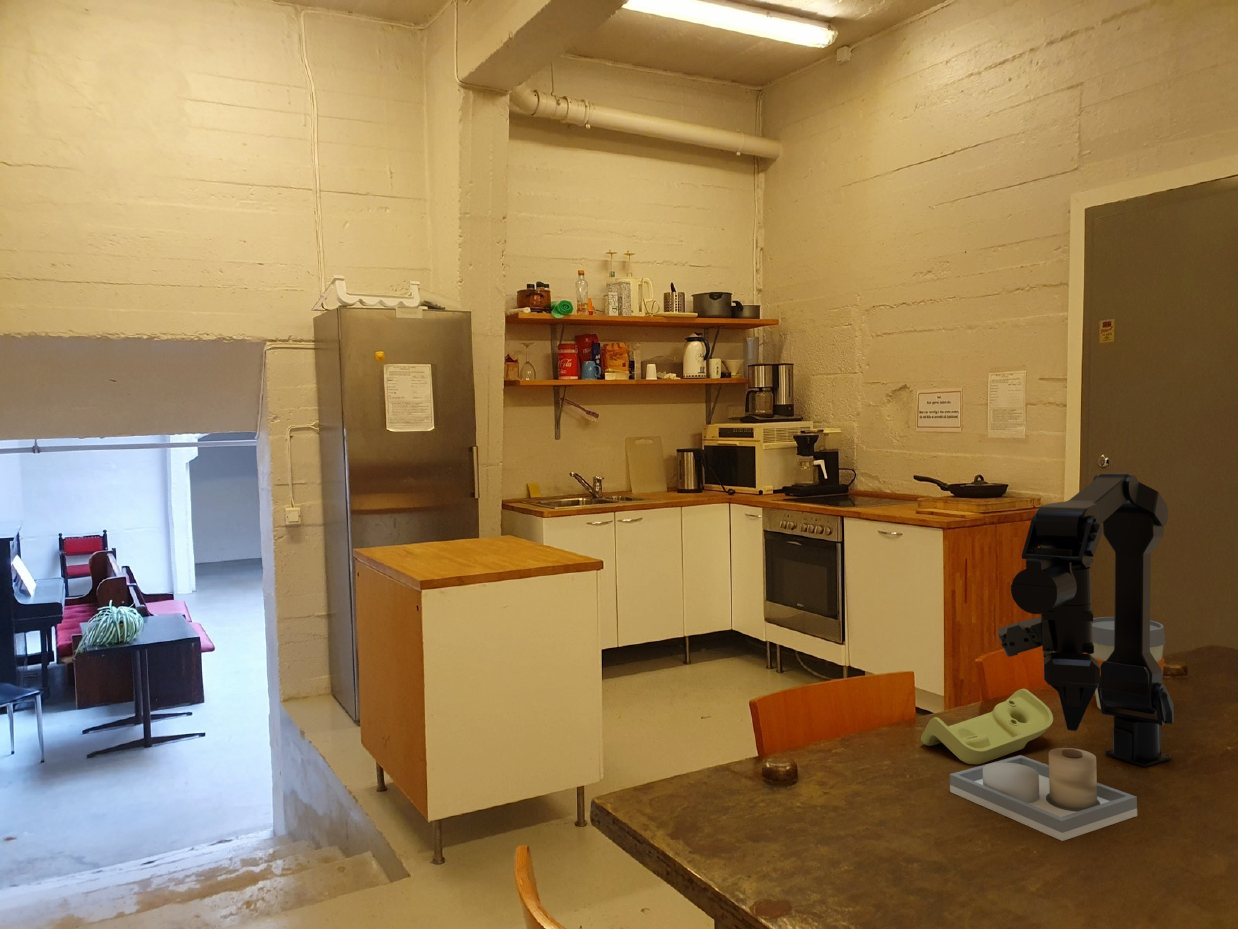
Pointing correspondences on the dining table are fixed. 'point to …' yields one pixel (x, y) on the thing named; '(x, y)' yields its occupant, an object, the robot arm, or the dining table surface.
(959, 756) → the plastic component
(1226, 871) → the dining table surface
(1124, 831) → the dining table surface
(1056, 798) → the tan paper roll
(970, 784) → the carrier plate
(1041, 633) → the robot arm
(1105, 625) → the reusable coffee cup
